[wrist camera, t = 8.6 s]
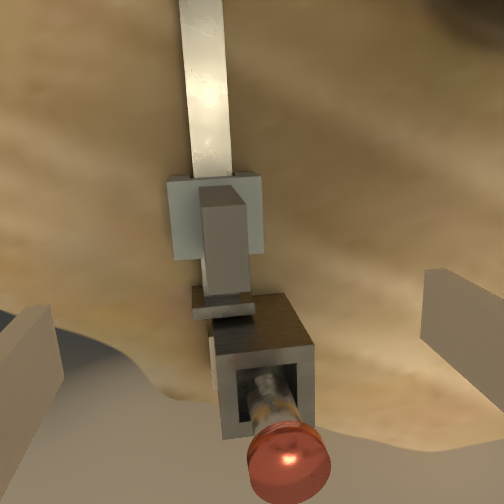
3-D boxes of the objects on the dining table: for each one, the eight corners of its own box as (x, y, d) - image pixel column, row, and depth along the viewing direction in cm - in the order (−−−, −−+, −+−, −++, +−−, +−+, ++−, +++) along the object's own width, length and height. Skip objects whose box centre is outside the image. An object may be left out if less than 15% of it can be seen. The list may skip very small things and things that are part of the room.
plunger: (298, 361, 30) (331, 431, 23) (299, 416, 31) (330, 498, 24) (234, 369, 29) (248, 443, 22) (238, 424, 31) (252, 511, 24)
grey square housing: (284, 293, 39) (314, 344, 30) (286, 359, 41) (314, 427, 32) (205, 300, 38) (210, 356, 29) (211, 368, 40) (217, 440, 31)
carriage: (252, 170, 35) (288, 192, 23) (255, 239, 37) (290, 295, 24) (169, 175, 35) (156, 201, 22) (176, 245, 36) (168, 307, 23)
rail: (229, -46, 31) (236, -78, 26) (247, 291, 39) (255, 314, 34) (161, -46, 30) (155, -79, 26) (192, 297, 38) (193, 320, 33)
